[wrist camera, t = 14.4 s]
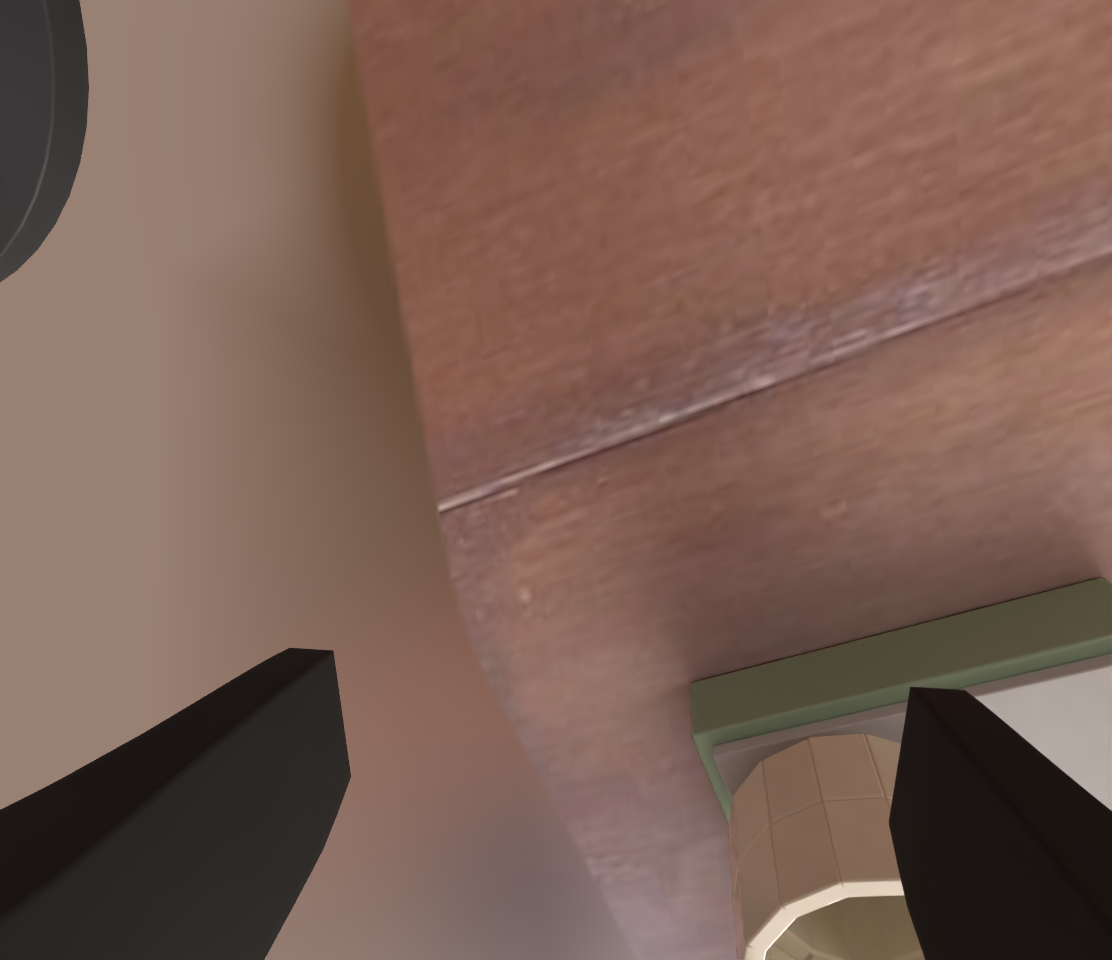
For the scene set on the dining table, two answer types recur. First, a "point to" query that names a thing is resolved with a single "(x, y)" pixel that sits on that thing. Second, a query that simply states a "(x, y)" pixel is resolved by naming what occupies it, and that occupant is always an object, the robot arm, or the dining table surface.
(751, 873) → the small beige cup
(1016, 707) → the scale
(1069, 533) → the dining table surface
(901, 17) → the dining table surface
